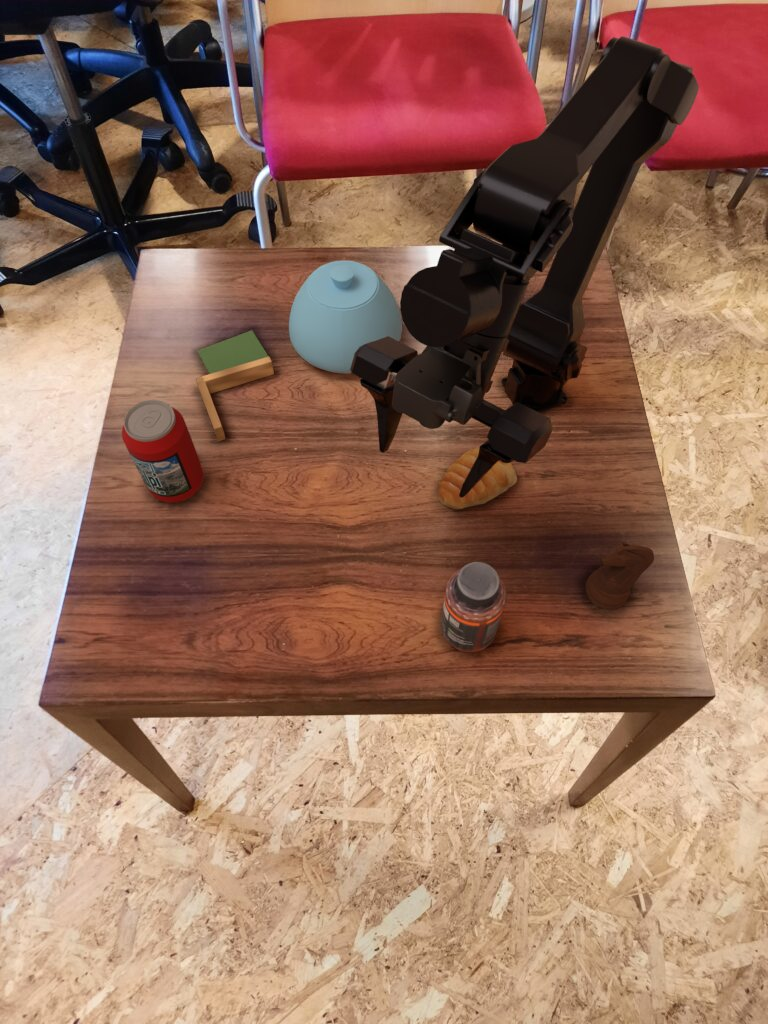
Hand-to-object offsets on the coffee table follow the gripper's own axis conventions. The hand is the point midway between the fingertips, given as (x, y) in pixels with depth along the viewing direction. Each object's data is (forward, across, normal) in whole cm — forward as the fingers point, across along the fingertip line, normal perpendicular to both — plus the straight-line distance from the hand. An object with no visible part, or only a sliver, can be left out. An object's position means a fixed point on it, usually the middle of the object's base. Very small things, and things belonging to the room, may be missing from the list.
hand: (422, 473), depth 71 cm
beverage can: (+17, -28, -2) cm, 33 cm away
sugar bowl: (+2, -25, +25) cm, 35 cm away
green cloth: (+7, -36, +15) cm, 40 cm away
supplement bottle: (+15, +10, +2) cm, 18 cm away
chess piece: (+9, +20, +13) cm, 26 cm away
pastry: (+7, +2, +16) cm, 18 cm away
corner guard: (+10, -29, +10) cm, 32 cm away
